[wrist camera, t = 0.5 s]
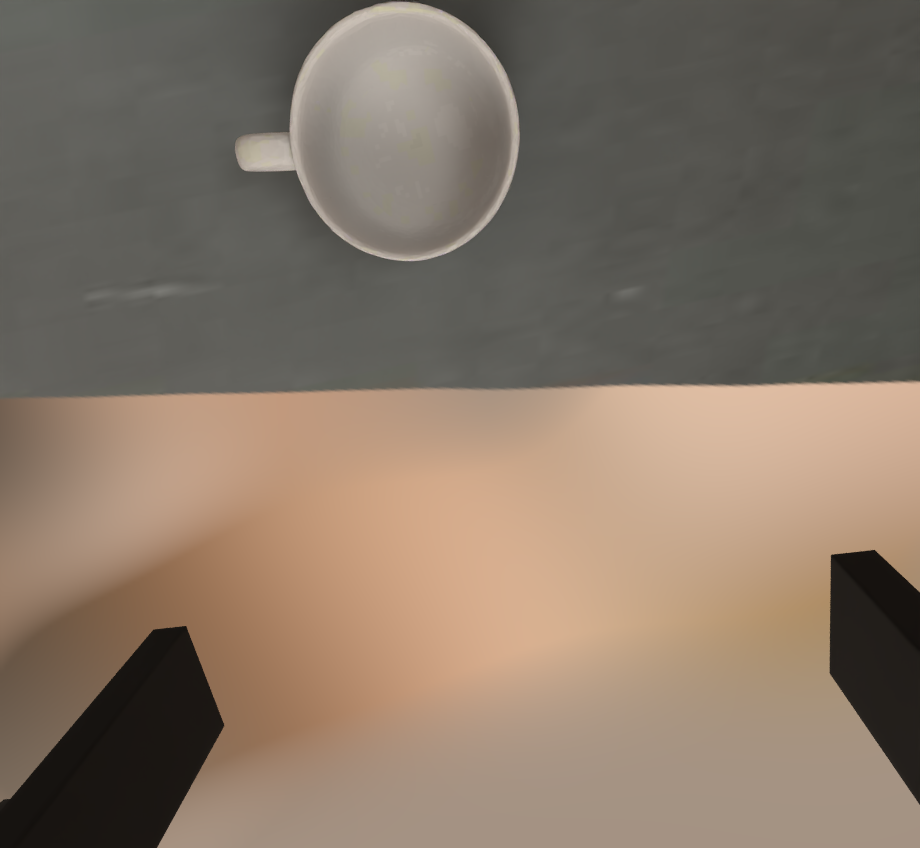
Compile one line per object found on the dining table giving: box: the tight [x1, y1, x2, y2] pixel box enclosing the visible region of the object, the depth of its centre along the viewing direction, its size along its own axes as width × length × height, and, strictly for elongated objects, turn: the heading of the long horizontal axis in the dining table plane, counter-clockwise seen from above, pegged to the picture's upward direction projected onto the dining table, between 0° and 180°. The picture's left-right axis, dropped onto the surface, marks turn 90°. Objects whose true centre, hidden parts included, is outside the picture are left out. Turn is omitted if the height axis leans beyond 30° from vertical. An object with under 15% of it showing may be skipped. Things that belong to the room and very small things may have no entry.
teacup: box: [235, 1, 520, 261], centre depth 32 cm, size 14×11×8 cm
